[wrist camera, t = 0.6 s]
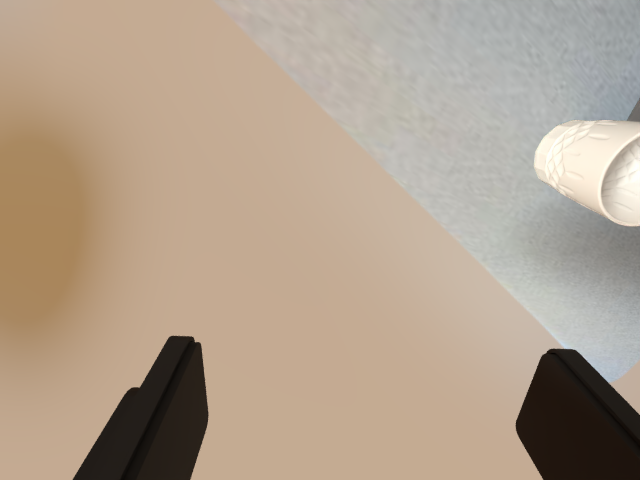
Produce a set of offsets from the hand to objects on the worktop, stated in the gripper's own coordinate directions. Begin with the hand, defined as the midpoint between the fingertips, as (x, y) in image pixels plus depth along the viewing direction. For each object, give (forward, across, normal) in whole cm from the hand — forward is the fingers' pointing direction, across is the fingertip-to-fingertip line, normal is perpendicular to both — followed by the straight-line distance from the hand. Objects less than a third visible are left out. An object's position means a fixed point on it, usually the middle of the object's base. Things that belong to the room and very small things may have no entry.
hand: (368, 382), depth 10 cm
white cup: (+29, -24, -2) cm, 38 cm away
